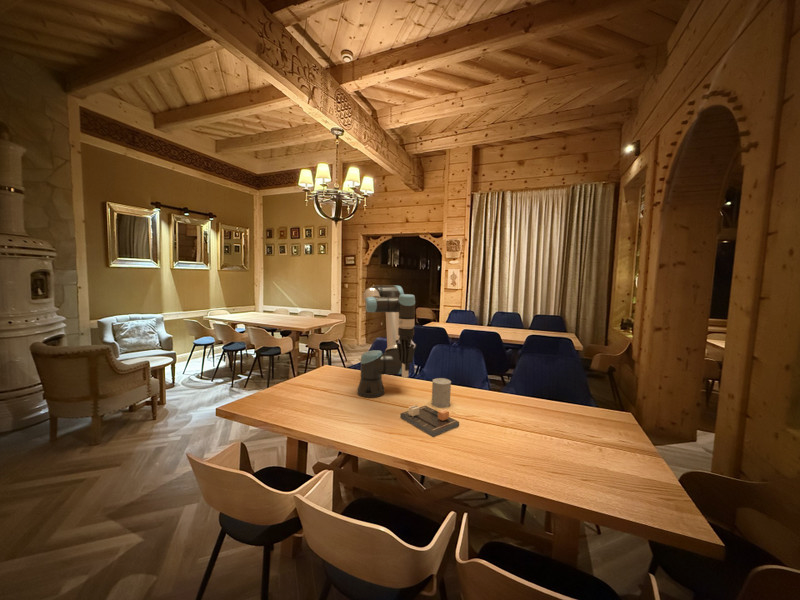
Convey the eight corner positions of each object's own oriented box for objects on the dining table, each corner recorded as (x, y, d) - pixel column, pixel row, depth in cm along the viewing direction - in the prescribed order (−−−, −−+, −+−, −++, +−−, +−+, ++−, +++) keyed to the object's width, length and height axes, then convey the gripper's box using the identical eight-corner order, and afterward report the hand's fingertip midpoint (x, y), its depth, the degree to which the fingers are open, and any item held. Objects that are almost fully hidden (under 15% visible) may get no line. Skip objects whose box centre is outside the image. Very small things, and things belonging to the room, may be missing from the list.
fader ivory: (408, 414, 148) (408, 406, 148) (414, 411, 151) (415, 404, 150) (412, 416, 146) (412, 408, 146) (419, 414, 148) (419, 406, 148)
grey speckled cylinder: (449, 401, 171) (450, 378, 170) (450, 408, 162) (451, 384, 161) (431, 400, 172) (432, 377, 171) (431, 407, 162) (432, 383, 161)
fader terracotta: (437, 418, 145) (437, 410, 144) (443, 415, 147) (444, 408, 147) (442, 420, 142) (442, 413, 142) (448, 418, 145) (449, 410, 145)
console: (400, 417, 150) (400, 413, 150) (425, 409, 160) (425, 405, 160) (433, 436, 133) (433, 432, 133) (459, 426, 143) (459, 421, 143)
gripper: (391, 326, 153) (390, 374, 155) (409, 330, 143) (407, 381, 145) (403, 324, 158) (402, 371, 160) (421, 328, 148) (420, 378, 150)
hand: (405, 376), depth 153 cm, fingers closed
